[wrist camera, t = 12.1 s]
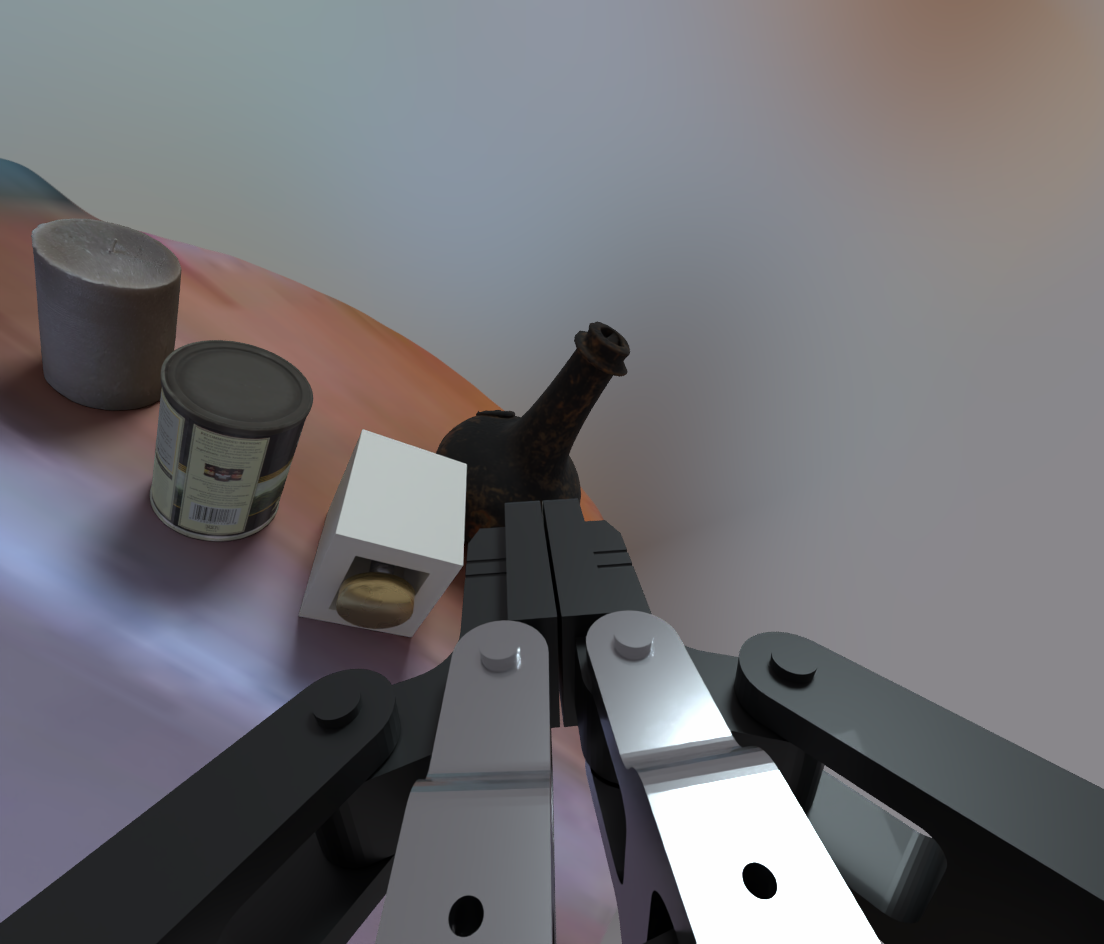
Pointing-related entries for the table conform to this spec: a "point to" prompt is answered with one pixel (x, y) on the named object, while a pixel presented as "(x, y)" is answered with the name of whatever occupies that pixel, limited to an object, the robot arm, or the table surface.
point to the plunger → (376, 598)
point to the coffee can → (225, 438)
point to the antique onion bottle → (534, 435)
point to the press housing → (391, 527)
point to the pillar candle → (104, 311)
